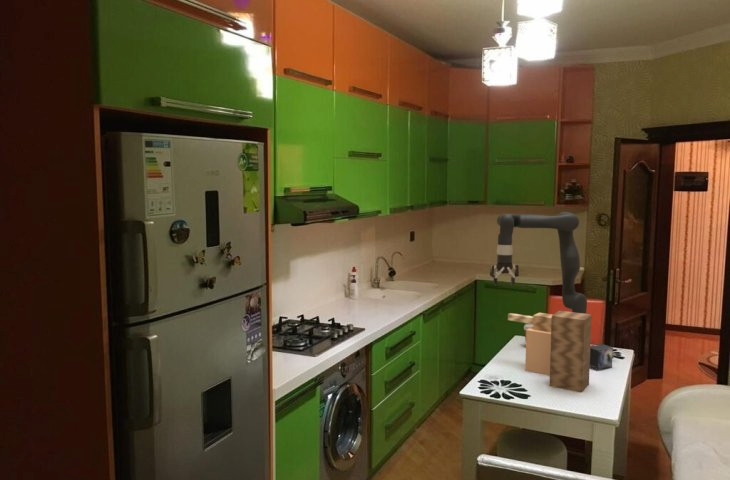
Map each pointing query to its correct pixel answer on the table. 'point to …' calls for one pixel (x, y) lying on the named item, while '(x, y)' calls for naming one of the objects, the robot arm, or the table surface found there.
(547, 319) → the mallet
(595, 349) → the small box
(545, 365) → the pedestal
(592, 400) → the table surface
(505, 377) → the table surface
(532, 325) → the disposable coffee cup
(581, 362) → the walnut block
